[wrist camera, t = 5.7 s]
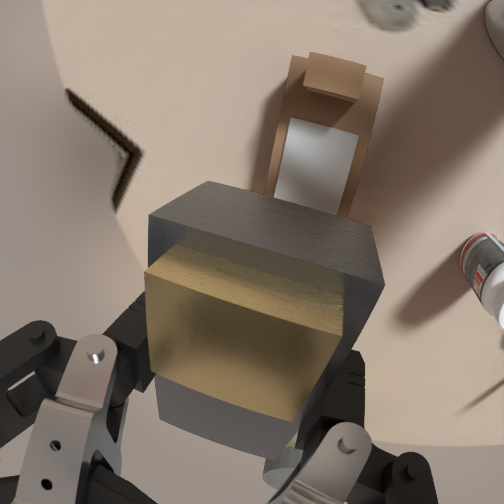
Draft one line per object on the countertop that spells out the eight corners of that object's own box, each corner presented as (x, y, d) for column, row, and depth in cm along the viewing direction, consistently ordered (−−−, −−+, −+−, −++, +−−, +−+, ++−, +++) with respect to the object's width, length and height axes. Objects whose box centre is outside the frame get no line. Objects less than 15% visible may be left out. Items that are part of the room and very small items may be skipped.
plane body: (299, 65, 22) (284, 44, 15) (375, 84, 21) (392, 71, 14) (258, 257, 32) (233, 300, 25) (321, 276, 31) (313, 324, 24)
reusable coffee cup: (276, 405, 43) (251, 485, 30) (299, 357, 37) (273, 457, 24) (348, 421, 41) (337, 501, 28) (383, 378, 35) (384, 475, 22)
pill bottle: (455, 279, 26) (485, 339, 18) (461, 230, 24) (502, 281, 15) (494, 276, 24) (530, 331, 16) (503, 229, 22) (549, 276, 14)
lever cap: (208, 180, 9) (113, 236, 5) (370, 226, 8) (392, 324, 4) (189, 368, 13) (147, 440, 9) (290, 402, 12) (267, 484, 9)
